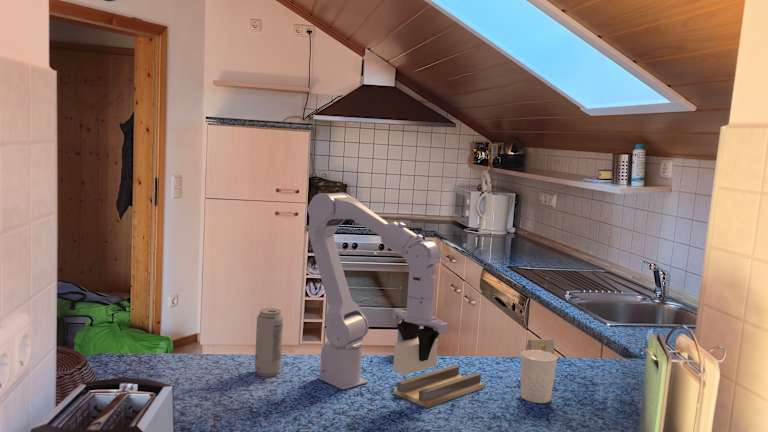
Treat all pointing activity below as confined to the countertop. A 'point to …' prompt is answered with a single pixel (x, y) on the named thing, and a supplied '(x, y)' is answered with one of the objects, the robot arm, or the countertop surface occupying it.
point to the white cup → (537, 375)
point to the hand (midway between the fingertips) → (416, 357)
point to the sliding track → (438, 386)
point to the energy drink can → (268, 342)
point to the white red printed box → (541, 345)
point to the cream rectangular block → (412, 357)
